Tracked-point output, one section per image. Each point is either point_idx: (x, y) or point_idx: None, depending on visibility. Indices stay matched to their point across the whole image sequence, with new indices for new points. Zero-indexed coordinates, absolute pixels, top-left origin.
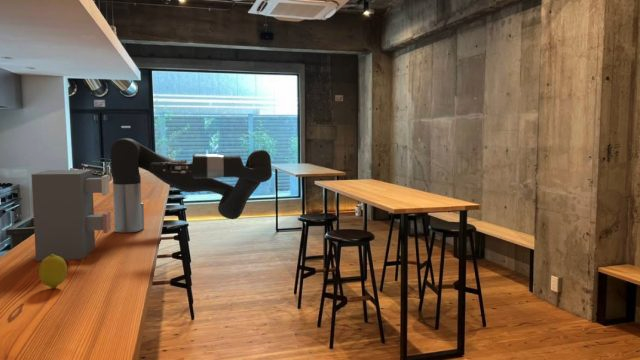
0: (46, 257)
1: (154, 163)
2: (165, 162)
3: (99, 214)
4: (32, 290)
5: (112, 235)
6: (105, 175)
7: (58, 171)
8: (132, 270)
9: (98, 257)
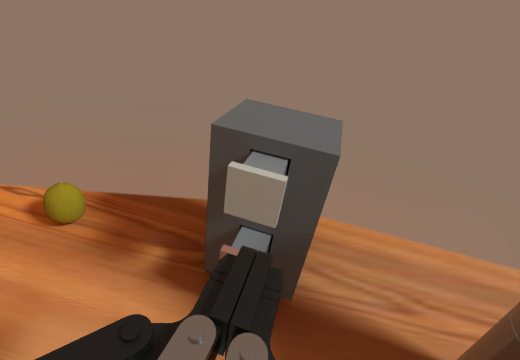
0: (67, 183)
1: (234, 265)
2: (189, 335)
3: (263, 249)
4: (88, 207)
5: (405, 355)
6: (271, 173)
7: (301, 121)
8: (36, 327)
9: (197, 291)
